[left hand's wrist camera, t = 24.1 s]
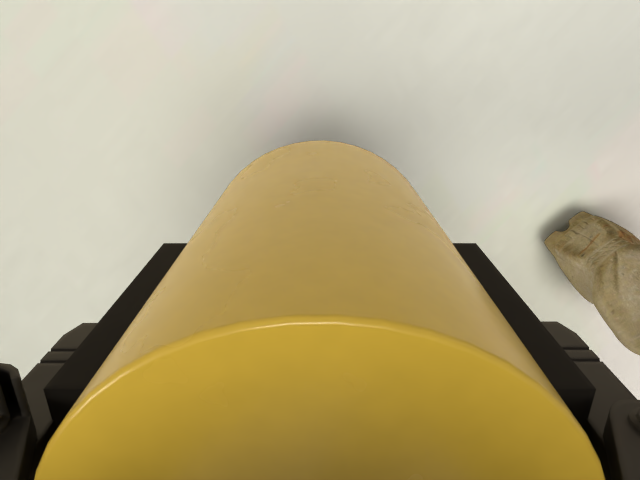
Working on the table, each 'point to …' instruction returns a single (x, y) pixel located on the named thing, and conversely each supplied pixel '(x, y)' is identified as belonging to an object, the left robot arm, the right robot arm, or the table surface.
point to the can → (319, 349)
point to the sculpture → (603, 271)
